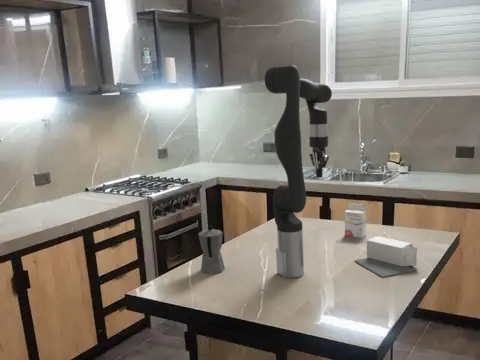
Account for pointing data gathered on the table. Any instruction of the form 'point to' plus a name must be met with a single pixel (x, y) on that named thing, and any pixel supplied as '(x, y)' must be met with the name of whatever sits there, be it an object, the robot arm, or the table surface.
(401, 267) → the mat
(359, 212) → the ink cartridge box
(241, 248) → the table surface
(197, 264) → the table surface
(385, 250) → the milk carton
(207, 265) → the coffeepot
